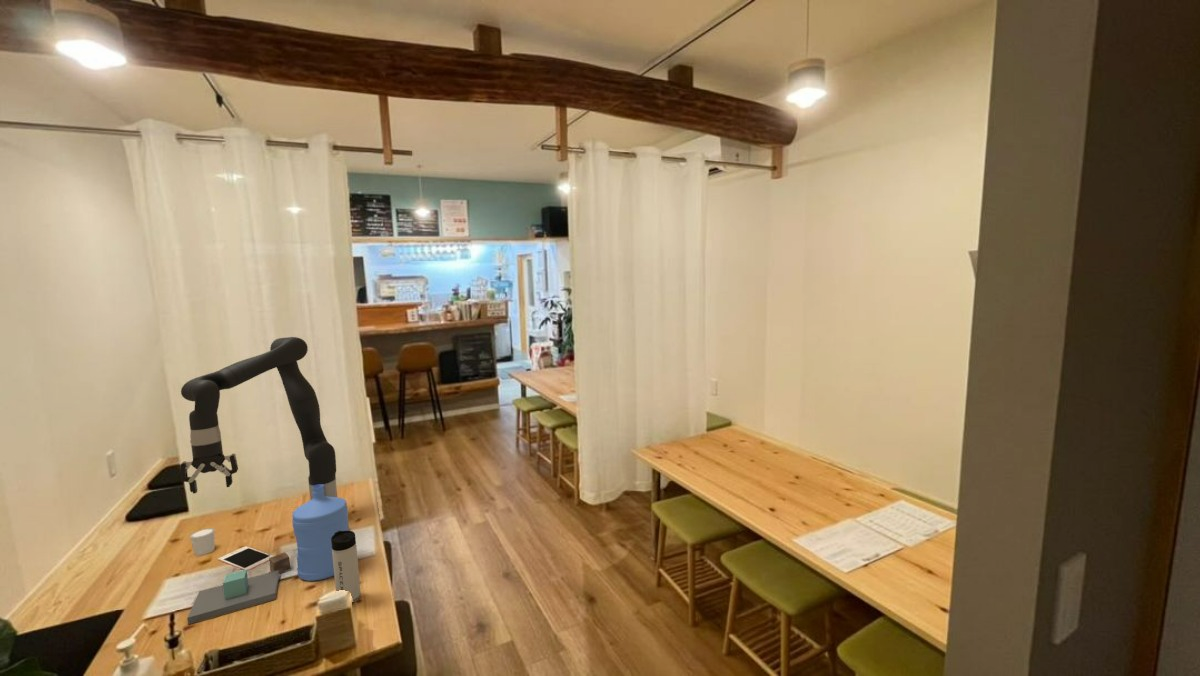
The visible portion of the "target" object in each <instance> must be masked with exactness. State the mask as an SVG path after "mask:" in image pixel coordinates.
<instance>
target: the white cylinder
mask: <svg viewBox="0 0 1200 676" xmlns="http://www.w3.org/2000/svg"><path fill="white" fill-rule="evenodd" d="M215 531H216V530H215V528H210V527H209V528H203V529H200V530H197V531H195V532H193V533H191V535H189V537H190V541H191V546H192V550H193V554H194V556H198V557H200V556H204V555H207V554H210V553H212V552H213V551H214V550H215V549H216V548H215V547H216V544H215V539H216V538H215V537H216V535H215V534H216V532H215Z"/></svg>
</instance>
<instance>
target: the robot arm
mask: <svg viewBox="0 0 1200 676" xmlns="http://www.w3.org/2000/svg"><path fill="white" fill-rule="evenodd" d="M308 350H309V349H308V344H307V342H306V341H305V340H304V339H302V338H300V337H297V336H295V337H294V336H289V337H279V338H275V340H273V341H272V342H271V345H270V347H269V350H268V351H266V352H264V353H262V354H258V355H256V356H252V357H248V358H246V359H242V360H240V361H239V360H238V361H237V362H235V363H231V364H229V365H227V366H225V367H223V368H221V369H219V370H216V371H214V372H210V373H207V374H204V375H201V376H198V377H197V376H196V377H195V378H194V377H193V378H192V379H190V380H188V381H186V382H185V383H184V384H183V385H182V387H181V391H180V392H181V393H180V394H181V397H182V398H183V399H185V400H187V401H188V402H189V401H190V402H194V409H193V410H192V411H190V412H189V416H188V420H189V430H190V431H189V433H190V434H189V437H190V439H189V440H190V441H189V442H190V446H191V454H192V460H191V461H183V462H181V463H180V464H179V468H180V469H179V471H180V482H182V483H188V484H189V491H190V492H191V493H192V494H193V495H194V494H197V493H198V485H197V479H196V478H197V477H199V474H200V473H202V474H207V473H209V472H210V473H213V472H216V471H218V472H219V473H221V474H223V475H224V476H225V477H224V478H225V484H226V485H225V486H226V488H230V487H231V486H232V484H233V474H236V473H238V471H239V465H238V460H237V456H236V453H232V454H229V455H224V451H223V450H224V449H223V442H222V433H221V428H220V425H219V418H218V409H219V406H220V405H219V404H220V399H221V391H223V390H230V389H233V388H235V387H237V386H239V385H241V384H243V383H245V382H247V381H249V380H251V379H253V378H256V377H258V376H260V375H262V374H264V373H267V372H268V371H271V370H273V369H277V371H278V373H279V376H280V379H281V381H282V385H283V388H284V392H285V394H286V397H287V401H288V405H289V408H290V411H291V413H292V416H293V419H294V421H295V424H296V426H297V428H298V430H299V434H300V435H301V436H300V437H301V441H302V447H303V448H302V449H303V452H304V457H305V459H306V460H307V462H308V470H309V471H308V472H309V473H308V475H309V476H308V477H307V479H308V488H309V501H310V500H312V499H313V488H312V487H313V486H315V485H318V484H323V485H324V486H323V489H324V495H325V496H327V497H338V498H339V496H338V488H337V479H336V478H337V477H336V474H337V460H336V459H337V457H336V450H335V447H334V446H333V445H332V444H330V443H329V441H328V440H327V438H326V436H325V434H324V431H323V428H322V425H321V409H320V408H321V407H320V404H319V400H318V397H317V394H316V392H315V389H314V387H313V385H311V383H310V382H309V381H308V379H306V377H305V376H304V375H303V374H302V372H301V370H300V368H299V364H298V361H301V360H302V359H304V358H305V357H306V355H307V353H308ZM225 461H227V462H228V463H230V466H231V469H229V468H228V466H227V465H225V464H224V462H225ZM191 466H192V467H193V468H194V469H195V471H194V472H193V474H192V475H191V476H188V474H189V473H188V469H190V467H191Z"/></svg>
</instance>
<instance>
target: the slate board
mask: <svg viewBox="0 0 1200 676" xmlns="http://www.w3.org/2000/svg"><path fill="white" fill-rule="evenodd" d="M279 580H280V574H279V570H277V571H274V572H271V571H270V572H266V573H262V574H258V575H256V576H251V577H248V584H249V585H248V588H247V592H246V594H243V595H239V596H235V597H232V598H228V599H225V597H224V588H223V584H221V585H218V586H214V587H210V588H206V589H202V590H199V592H198V593H197V595H196V598H195V600H194V602H193V604H192V606H191V609H190V611H189V614H188V615H187V618H186V619H187V625H192V624H195V623H199V622H202V621H206V620H209V619H213V618H217V617H220V616H222V615H225V614H226V615H227V614H230V613H234V612H237V611H240V610H243V609H247V608H250V607H253V606H257V605H260V604H265V603H268V602H271V601H274V600H276V597H277V591H278V586H279Z"/></svg>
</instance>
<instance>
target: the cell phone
mask: <svg viewBox="0 0 1200 676" xmlns="http://www.w3.org/2000/svg"><path fill="white" fill-rule="evenodd" d="M273 556H274V555H272V554H268V553H266V552H263V551H260V550H258V549H255V548H252V547H249V546H246V545H245V546H243V547H240V548H238V549H236V550H234V551H232V552H230V553H227V554H225V555H223V556H221V557H218V559H217V560H218V561H219V562H222V563H224V564H225V565H229V566H231V567H233V568H236V569H239V570H240V571H243V570H247V572H250V571H252V570H254V569H256V568H258V567H260V566H262V565H264V564H266V563H268V562H269V558H271V557H273Z"/></svg>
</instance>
